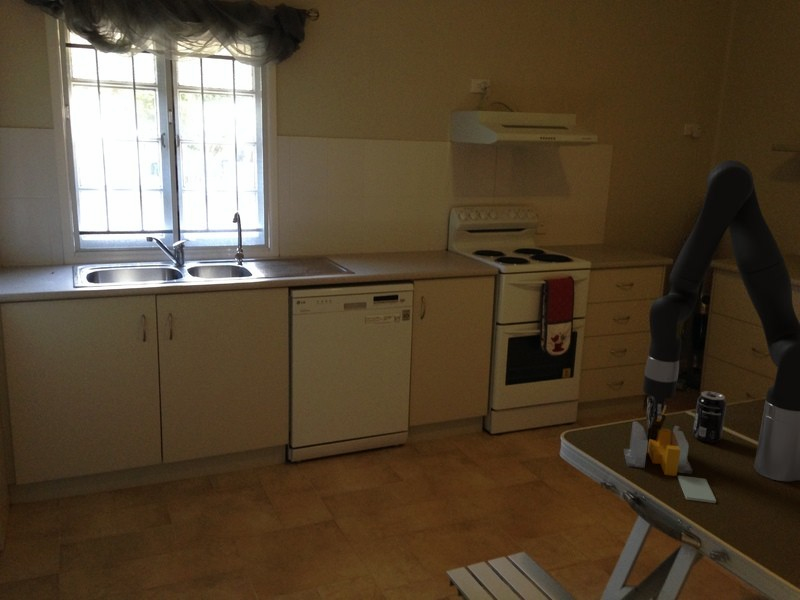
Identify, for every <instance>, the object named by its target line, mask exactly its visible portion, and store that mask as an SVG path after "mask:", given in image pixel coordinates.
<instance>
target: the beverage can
mask: <svg viewBox="0 0 800 600" xmlns="http://www.w3.org/2000/svg"><path fill="white" fill-rule="evenodd" d="M700 394H701V395H699V396H698V397H697V402H696V410H695V415H694V421H693V430H692V435H693V436H694V437H695V438H696V439H697V440H699V441H701V442H703V443H708V444H710V443H711V444H712V443H717V442H718V441H720V440H721V439H722V435H723V430H724V423H725V419H726V418H725V417H726V412H727V411H726V410H727V401H726V400H725V399H726V396H725V394H722V393H719V392H717V391H710V390H709V391H707V390H706V391H701V393H700Z"/></svg>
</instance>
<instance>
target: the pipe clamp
mask: <svg viewBox="0 0 800 600" xmlns="http://www.w3.org/2000/svg"><path fill="white" fill-rule="evenodd" d="M671 438H672V431H671V429H670V428H664V427H661V429H660V430H659V429H658V433H657V439H656V440H652V439H649V442H648V445H647V453H648V456H649V458H650V460H651V463H652V464H658V465H659V464H660V467H661V470H662V471H663V474H664V475H666V476H673V477H678V472H677V469H678V462H679V456H680V448H679V446H671Z"/></svg>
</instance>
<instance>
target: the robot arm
mask: <svg viewBox="0 0 800 600" xmlns="http://www.w3.org/2000/svg"><path fill="white" fill-rule="evenodd" d="M703 200H704V201H703V204H702V206H701V207H702V208H701V210H700V213H699V215H698V219H697V220H696V223H695V224H694V227H693V229H692V231H691V233H690V235H689V236H688V238H687V240H686V241H685V243H684V244H683V246H682V248H681V251H680V252H679V254H678V257H677V259H676V261H675V262H674V265H673V267H672V270H671V272H670V275H669V282H670V284H671V287H670V290H669V292H668V294H666V295H663V296H660V297H657V298H656V299H655V300H654V301H653V302H652V304H651V306H650V309H649V314H648V316H649V332H650V338H651V339H650V344H649V350H648V357H647V359H646V363H645V370H644V374H643V375H644V376H643V382H642V392H644V394H646V395H648V396H647V399H646V401H647V402H646V404H647V408H646V420H647V421H646V424H647V430H646V436H647V439H648V443H649V439H652V440H657V435H658V429H659V430H660V429H661V428H663V425H664V422H665V419H666V415H665V412H666V410H667V403H665V402H666V399H672V398H674V397H675V396H676V389H677V383H678V378H679V372H680V358H681V352H682V345H683V342H682V341H683V340H682V338H681V336H680V335H678V333H677V332H678V331H677V329H678V324H679V323H683V322H685V321H687V320H688V318H690V316H691V315H692V313H693V312H694V310H695V306H696V303H697V300H698V297H699V290H700V286H701V285H702V283H703V281H704V279H705V277H706V275H707V272H708V271H709V268H710V267H711V264H712V262H713V259H714V258H715V255H716V252H717V250H718V248H719V245H720V243H721V241H722V239H723V237H724V235H725V233H726V231H727V229H728V232H729V237H730V243H731V248H732V252H733V257H734V261H735V263H736V266H737V269H738V273H739V275H740V278H741V281H742V282H743V285H744V288H745V290H746V292H747V295H748V297H749V299H750V301H751V303H752V306H753V308H754V309H755V311H756V314H757V315H758V318H759V320H760V322H761V325H762V329H763V333H764V336H765V341H766V344H767V345H766V346H767V350H768V352H769V353H768V354H769V356H770V359H771V361H772V363H773V365H775V366H776V367H777V368H776V369H777V370H776V374H775V380H774V384H773V385H772V386H770V387H769V388H768V389H767V391H766V396H765V397H766V398H765V402H764V407H763V413H762V418H761V419H762V420H761V426H760V432H759V436H758V437H759V438H758V443H757V448H756V454H755V459H754V464H753V465H754V466H753V468H754V469H753V470H754V471H755V472H756V473H758V475H761V476H762V477H765V478H767V479H770V480H775V481H778V482H794V481H800V321H799V320H798V317H797V315H796V311H795V310H794V309H795V307H794V304H793V290H792V288H793V287H792V281H791V276H790V272H789V270H788V267H787V265H786V262H785V260H784V257H783V253H782V252H781V250H780V248H779V245H778V243H777V240H776V239H775V237H774V235H773V232H772V231H771V229H770V227H769V225H768V223H767V222H766V219H765V217H764V216H763V213H762V209H761V207H760V204H759V200H758V197H757V192H756V188H755V183H754V177H753V173H752V171H751V169H750V168H749V167H748V165H746V164H744V163H742V162H740V161H737V160H724V161H721V162H719V163H718V164H716V165H715V166H714V167H713V168H712V170H711V171H710V173H709V174H708V177H707V181H706V192H705V196H704V199H703Z"/></svg>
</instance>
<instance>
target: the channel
mask: <svg viewBox="0 0 800 600" xmlns="http://www.w3.org/2000/svg"><path fill="white" fill-rule="evenodd" d="M646 435H647V432H645V428H644V426H643V425H641V423H639V422H638V421H635V420H634V421H632V425H631V433H630V441H629V448H623V454H624V458H625V462H626V463H625V464H626V466H627V467H630V468H639V469H645V466H646V465H645V464H646V459H647V453H648V445H649V442H648V439H647V436H646ZM671 446H679V448H680V456H679V462H678V469H677V473H680V474H681V473H682V474H689V475H693V469H692V467H691V464H690V462H689V460H688V454H689V446H690V445H689V442H688V440H687V439H686V437H685V434H684V431H683V430H680V426H678V425H674V427H673V429H672V431H671Z"/></svg>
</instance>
